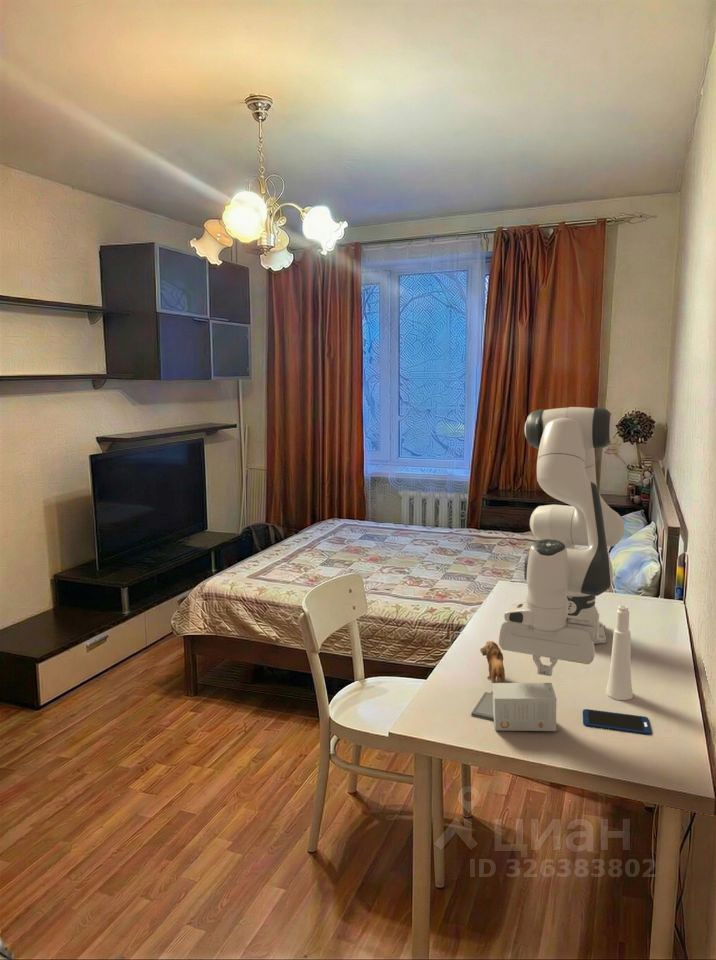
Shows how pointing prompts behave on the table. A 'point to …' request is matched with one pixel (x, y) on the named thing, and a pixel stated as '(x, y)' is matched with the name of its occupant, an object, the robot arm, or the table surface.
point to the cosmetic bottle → (621, 659)
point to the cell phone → (616, 721)
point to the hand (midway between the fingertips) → (544, 674)
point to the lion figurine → (494, 661)
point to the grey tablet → (484, 707)
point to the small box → (524, 707)
